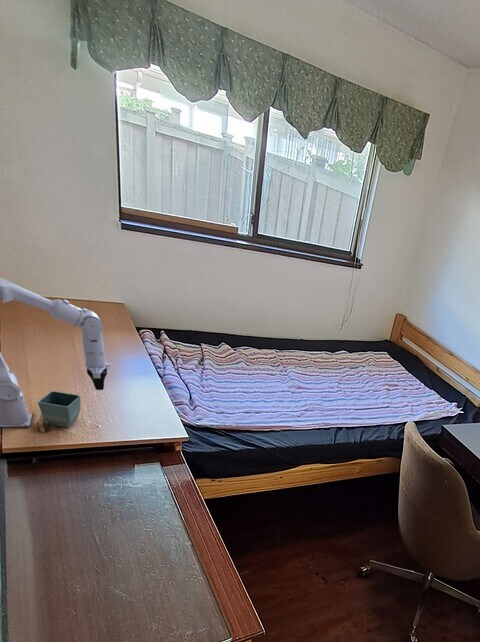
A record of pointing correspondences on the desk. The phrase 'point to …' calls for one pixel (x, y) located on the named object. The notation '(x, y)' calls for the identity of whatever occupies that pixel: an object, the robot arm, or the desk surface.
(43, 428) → the stop rail
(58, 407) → the flower pot
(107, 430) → the desk surface
